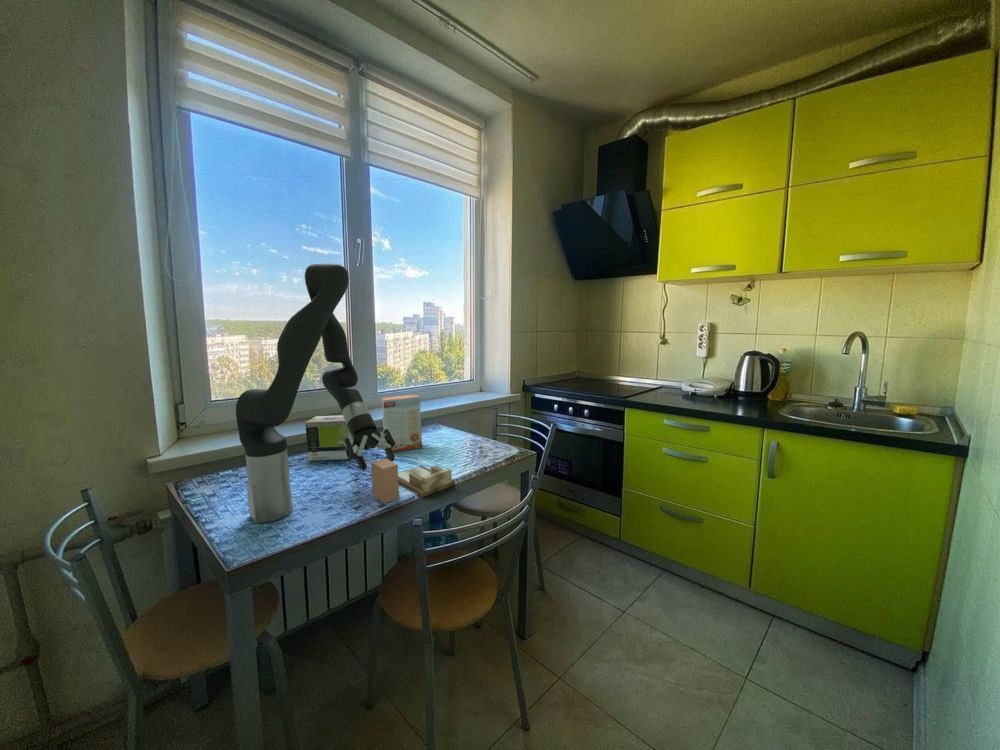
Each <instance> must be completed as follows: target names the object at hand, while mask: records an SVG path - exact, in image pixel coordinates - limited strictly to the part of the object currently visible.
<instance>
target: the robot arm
mask: <svg viewBox="0 0 1000 750" xmlns="http://www.w3.org/2000/svg"><path fill="white" fill-rule="evenodd" d="M349 277H350V276H349V272H348V270H347V269H346V267H345V266H343V265H341V264H338V263H313V264H310V265H309V266H307V267H306V268H305V272H304V283H305V286H306V290H307V293H308V296H309V298H310V301H309V302H308V303H307V304H306V305H305V306H303V307H302V308H300V310H298V311H297V312H296V313H295V314H293V315H292V316H291V317H290V318H289V319H288V321H287V322H286V324H285V325H284V328H283V329H282V332H281V333H280V336H279V338H278V340H277V346H276V347H277V348H276V349H277V350H276V351H277V359H278V366H277V371H276V374H275V376H274V378H273V381H272V383H271V384H270V386H269V388H268V389H262V388H251V389H247V390H245V391H244V392H242V393H241V394H240V395H239V397H238V398H237V401H236V404H235V405H236V406H235V417H236V424H237V430H238V435H239V441H240V444H241V445H242V447H243V448H244V453H245V462H246V473H247V481H246V493H247V502H248V503H247V504H248V511H249V516H250V518H251V520H252V522H254V524H255V525H257V524H261V523H268V522H269V523H270V522H274V521H277V520H280V519H283V518H285V517H287V516H288V515H290V514H292V511H293V499H292V498H293V497H292V489H291V488H292V487H291V476H290V465H289V464H290V463H289V452H288V442H287V439H286V437H285V436H284V435H282V434H281V433H279V431H277V430H276V429H275V427H279V426H280V425H282V424H283V423H284V422H285V421H287V419H288V417H289V416H290V414H291V411H292V409H293V407H294V403H295V400H296V397H297V395H298V392H299V388H300V385H301V383H302V380H303V378H304V375H305V373H306V371H307V369H308V366H309V363H310V361H311V359H312V357H313V355H314V353H315V352H316V348H317V347H318V345H319V342H321V341H320V340H321V339H322V347H323V351H324V358H325V360H326V362H329V363H335V364H338V363H339V364H342V367H338V368H333V369H327V370H325V372H324V373H323V374H322V377H321V378H322V379H321V381H322V384H323V386H324V388H325V389H326V390H327V392H328V394H330V395H331V396H332V397H333V399H334V400H336V402H337V404H338V406H339V408H340V410H341V413H342V415H343V417H344V420H345V423H346V424H347V427H348V429H349V431H350V434H351V436H352V437H353V439H349V438H346V439H345V441H344V443H343V445H344V448H345V451H346V454H347V457H348V459H347V460H348V461H352V460H355V461H356V463H357V466H358V467H359V469H360V470H361V471H366V470H367V469H368V465H367V463H366V461H365V458H364V456H363V455H362V454H363V451H364V450H365V451H368V450H370V449H375V448H376V449H378V450H379V449H380V450H382V451H384V452H385V455H386V459H388V460H390V461H392V462H394V460H395V453H394V452H393V451H392V448H393V447H394V445H395V444H396V443H395V441H394V439H393V438H392V436H391V434H390V432H389V430H388V429H385V430H384V429H383V430H382V431H379V430H378V429H377V425H376V423H375V421H374V419H373V417H372V415H371V412H370V410H369V409H368V407H367V405H366V404H365V402H364V399H363V397H362V396H361V393H360V391H358V389H355V388H354V387H355V386H356V385H357V383H358V380H359V377H358V376H359V375H358V374H357V371H356V369H355V367H354V365H353V361H352V360H351V357H350V354H349V353H350V352H349V348H348V340H347V335H346V332H345V330H344V328H343V326H342V324H341V323H340V321H339V320H338V319H337V317H336V316H335V314H334V311H335V309H336V308H337V307H338V305H339V303H340V301H341V300H342V298H343V297H344V295H345V293H346V292H347V289H348V286H349V283H350V282H349V281H350V279H349ZM384 439H385V440H384ZM385 441H386V442H387V443H386V442H385ZM353 443H354V444H355V445H357V452H356V453H354V451H353V448H352V444H353Z"/></svg>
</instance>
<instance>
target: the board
mask: <svg viewBox="0 0 1000 750" xmlns="http://www.w3.org/2000/svg"><path fill="white" fill-rule="evenodd" d="M452 475H453V474H452V469H450V468H449V467H447V468H446V469H443V468H442V467H439V466H437V465H433V466H430V468H428V467H426V466H423V465H420V466H417V467H413V468H411V469H408V470H404V471H401V472H398V484H399V486H401V487H403V488H405V489H406V488H407V490H408V489H409V491H410V492H412V491H413V492H415V493H417V494H418V495H417V494H416V495H417V496H419V497H421V498H424V497H427V496H429V495H432V494H435V493H437V492H440V491H442V490H445V489H448V488H450V487H453V486H455V485H456V480H454V479H452ZM413 492H412V493H413ZM415 493H414V494H415Z"/></svg>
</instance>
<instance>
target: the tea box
mask: <svg viewBox="0 0 1000 750" xmlns="http://www.w3.org/2000/svg"><path fill="white" fill-rule="evenodd" d="M304 424H305V425H304V426H305V435H306V447H307V448H306V449H307V456H308V461H334V460H335V461H336V460H339V461H340V460H349V459H348V457H347V454H346V451H345V448H344V445H343V443H344V441H345V439H346V438H349V439H353V437H352V436H351V434H350V431H349V429H348V427H347V424H346V423H345V420H344V417H343V414H342V415H341V414H339V415H319V416H318V415H317V416H314V417H312V418H311V419H309V420H307V421H305V422H304ZM352 448H353V451H354V453H357V450H358V446H357V445H355V444H354V443H353V444H352Z"/></svg>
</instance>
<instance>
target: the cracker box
mask: <svg viewBox="0 0 1000 750" xmlns="http://www.w3.org/2000/svg"><path fill="white" fill-rule="evenodd" d="M381 409H382V410H381V411H382V426H383V427H382V428H383V431H384V430H385V429H388V430H389V432H390V434H391V436H392V438H393V439H394V441H395V443H396V444H395V445H394V447H393V448H392V451H393V453H395V452H400V451H405V450H406V451H407V450H413V449H419V448H422V447H423V441H422V440H423V439H422V416H421V415H422V414H421V398H420V396H419V395H418V394H409V395H408V394H407V395H398V396H395V395H394V396H387V397H386V396H385V397H381ZM383 440H385V439H383ZM385 442H386V441H385ZM386 443H387V442H386Z"/></svg>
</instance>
